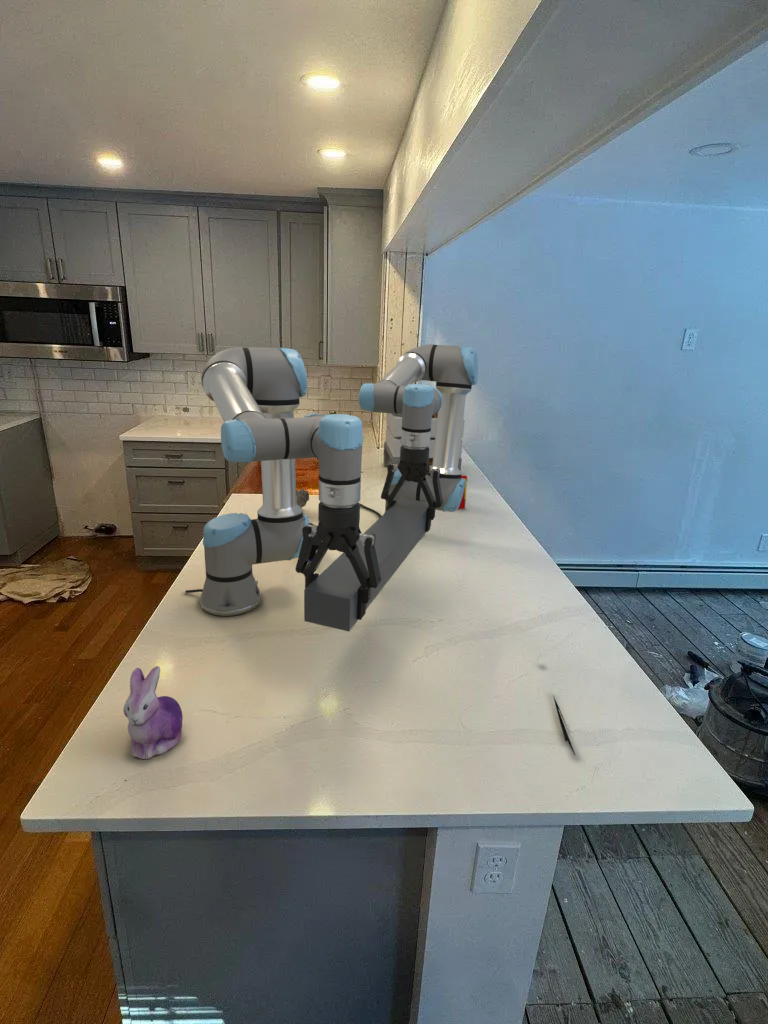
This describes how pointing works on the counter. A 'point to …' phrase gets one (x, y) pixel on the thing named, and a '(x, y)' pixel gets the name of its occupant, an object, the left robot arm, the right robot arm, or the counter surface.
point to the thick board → (338, 584)
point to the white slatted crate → (394, 439)
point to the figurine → (151, 716)
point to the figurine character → (315, 546)
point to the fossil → (302, 497)
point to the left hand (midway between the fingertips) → (337, 611)
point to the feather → (563, 726)
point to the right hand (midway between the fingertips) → (409, 527)
